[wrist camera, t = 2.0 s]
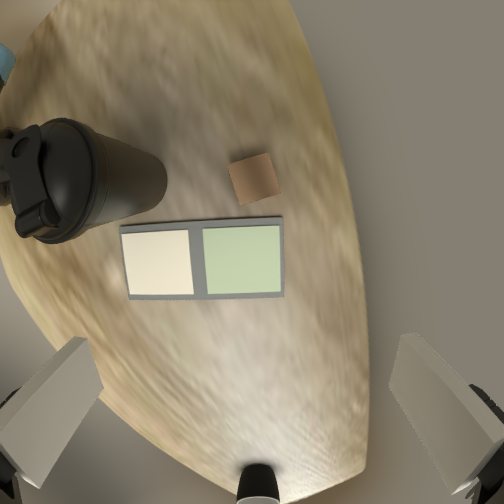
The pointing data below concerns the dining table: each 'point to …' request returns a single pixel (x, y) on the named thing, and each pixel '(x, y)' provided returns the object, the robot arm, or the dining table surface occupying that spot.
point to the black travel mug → (77, 180)
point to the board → (204, 259)
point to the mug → (258, 486)
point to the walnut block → (254, 178)
